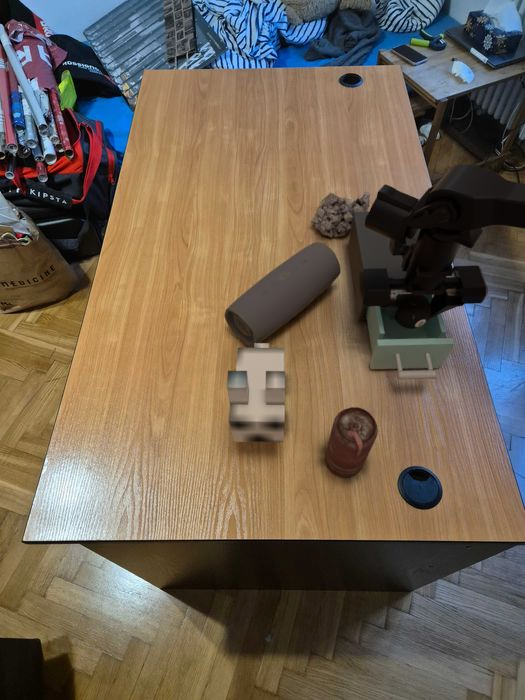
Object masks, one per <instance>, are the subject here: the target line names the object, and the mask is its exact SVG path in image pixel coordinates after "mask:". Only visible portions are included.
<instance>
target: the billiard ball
mask: <svg viewBox="0 0 525 700" xmlns="http://www.w3.org/2000/svg"><path fill="white" fill-rule="evenodd" d="M397 301H398V305H399V307H398V310H397V312H396V315H395V317H394V318H395V320H396V321H397V323H398V324H399V325H401V326H402V327H405V328H408V329H414V328H418V327H420V326H422V325H424V324H425V323H426V322H427V321H428V319H429V318H430V315H431V305H430V302H429V300H428V299H427V298H426V297H425V296H424V295H411V294H403V295H401V296H400V297H399V298H398V299H397Z"/></svg>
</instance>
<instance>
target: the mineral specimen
mask: <svg viewBox="0 0 525 700" xmlns="http://www.w3.org/2000/svg"><path fill="white" fill-rule="evenodd" d="M370 199H371V193H370V191H366V192H364V193H363V195H359V196H357V197H356V199H353V198H351V199H349V198H347V197H346V196H345V197H343V198H342V197H339V196H338V195H337V193H333V192H329V193H328V194H327V195H326V196H325V197H324V198H323V199H322V200H321V201H320V202H319V203H320V204H318V206H317V207H316V209H315V213H314V216H313V217H312V219H311V220H309V221H310V224H311V225H313V226H314V228H315V229H316V230H318V231H319V232H320V233H321V234H322V235H323V236H326V237H329V238H332V237H335V238H338V237H344V236H345V235H346V234H347V233H348V232H350V231H351V225H352V220H353V214H354V212H369V211H370V210H368V209H369V208H370V203H371V200H370Z"/></svg>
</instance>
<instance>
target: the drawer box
mask: <svg viewBox="0 0 525 700" xmlns="http://www.w3.org/2000/svg"><path fill="white" fill-rule="evenodd" d="M368 213H369V212H354V214H353V220H352V225H351V229H350V230H349V238H348V244H347V251H348V258H349V265H350V271H351V278H352V285H353V291H354V298H355V305H356V313H357V318H358V321H359V322H364V321H365V322H367V317H366V311H365V309H366V306H365V305H364V304H363V303H362V296H361V290H360V284H359V276H360V272H361V271H362V270H363V269H369V268H387V273H388V278H393V279H404V276H405V274H406V271H402V267H401V265H402V262H403V258H402V256H401V255H397V256H393V255H392V254H391V252H390V249H389V245H390V238H388V237H386V236H384V235H382V234H379V233H377V232H375V231H373V230H370V229H368V228H366V227H365V219H366V216H367V215H368ZM419 232H420V229H418V231H417V232H416V233H419Z"/></svg>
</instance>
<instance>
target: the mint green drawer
mask: <svg viewBox="0 0 525 700" xmlns="http://www.w3.org/2000/svg"><path fill="white" fill-rule="evenodd" d="M401 295H403V294H398V296H397V299H398V298H399V297H400V296H401ZM424 296H425V297H426V298H427V299H428V300H429V302H430V303H431V301H432V299H433V296H434V295H424ZM365 311H366V317H367V321H366V323H367V329H368V336H369V342H370V348H371V354H372V355H371V358H370V361H369V369H370V370H389V369H390V370H394V369H397V371H396V378H397V380H434V379H437V372H436V370H435V369H437V368H438V369H439V368H441V367H442V366H443V364H444V362H445V360H446V359H447V357H448V356H449V353H450V352H451V350H452V348H453V347H454V345H455V340H454V338H453V337H445V335H446V334H447V329H446V326H445V322H444V319H443V315H442V314H443V313H441V314H439V315H437V316H435V317H433V318H431V319H428V321H427V322H426V323H425V324H424V325H422V326H420V327H418V328H414V329H408V328H405V327H402V326H401V325H399V324H398V323H397V321H396V320H395V318H393V320H390V318H389V313H388V311H387V309H386V308H380V307H379V306H366V309H365ZM403 369H423V370H403ZM424 369H425V370H424Z"/></svg>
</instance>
